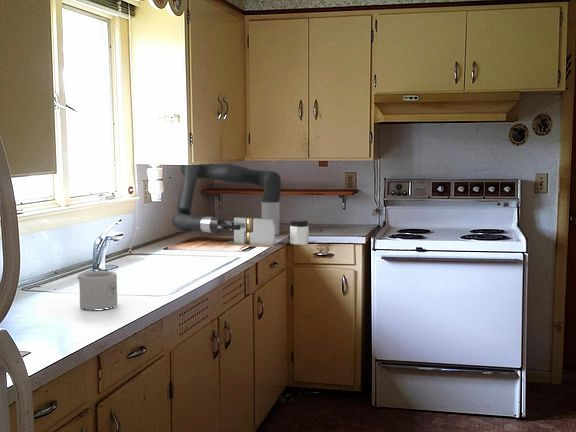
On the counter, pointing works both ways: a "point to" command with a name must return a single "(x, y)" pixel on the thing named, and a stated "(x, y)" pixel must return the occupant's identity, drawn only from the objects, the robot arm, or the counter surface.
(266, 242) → the fixed leaf
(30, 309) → the counter surface
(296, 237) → the jar
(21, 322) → the counter surface
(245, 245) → the jig board
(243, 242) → the brushed metal block
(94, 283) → the mug
